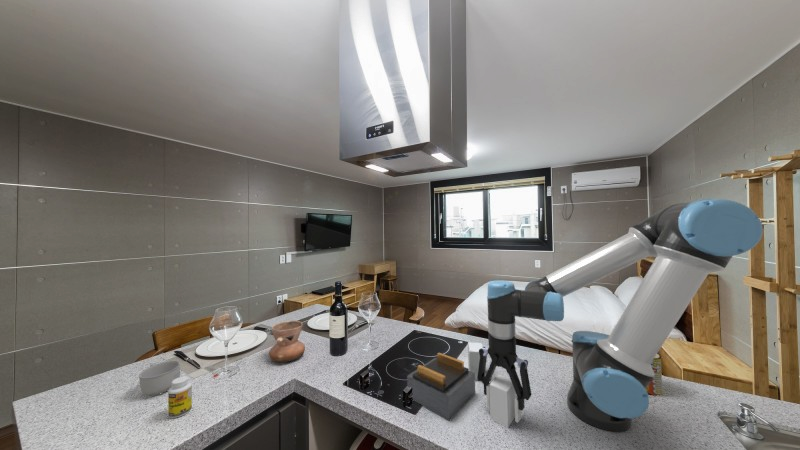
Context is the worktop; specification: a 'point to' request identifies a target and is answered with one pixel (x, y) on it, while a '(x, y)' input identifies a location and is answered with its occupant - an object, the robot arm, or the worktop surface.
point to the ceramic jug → (287, 341)
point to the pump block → (502, 400)
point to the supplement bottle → (179, 397)
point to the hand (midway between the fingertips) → (503, 412)
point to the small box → (474, 357)
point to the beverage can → (655, 377)
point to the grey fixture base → (442, 385)
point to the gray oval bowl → (159, 377)
